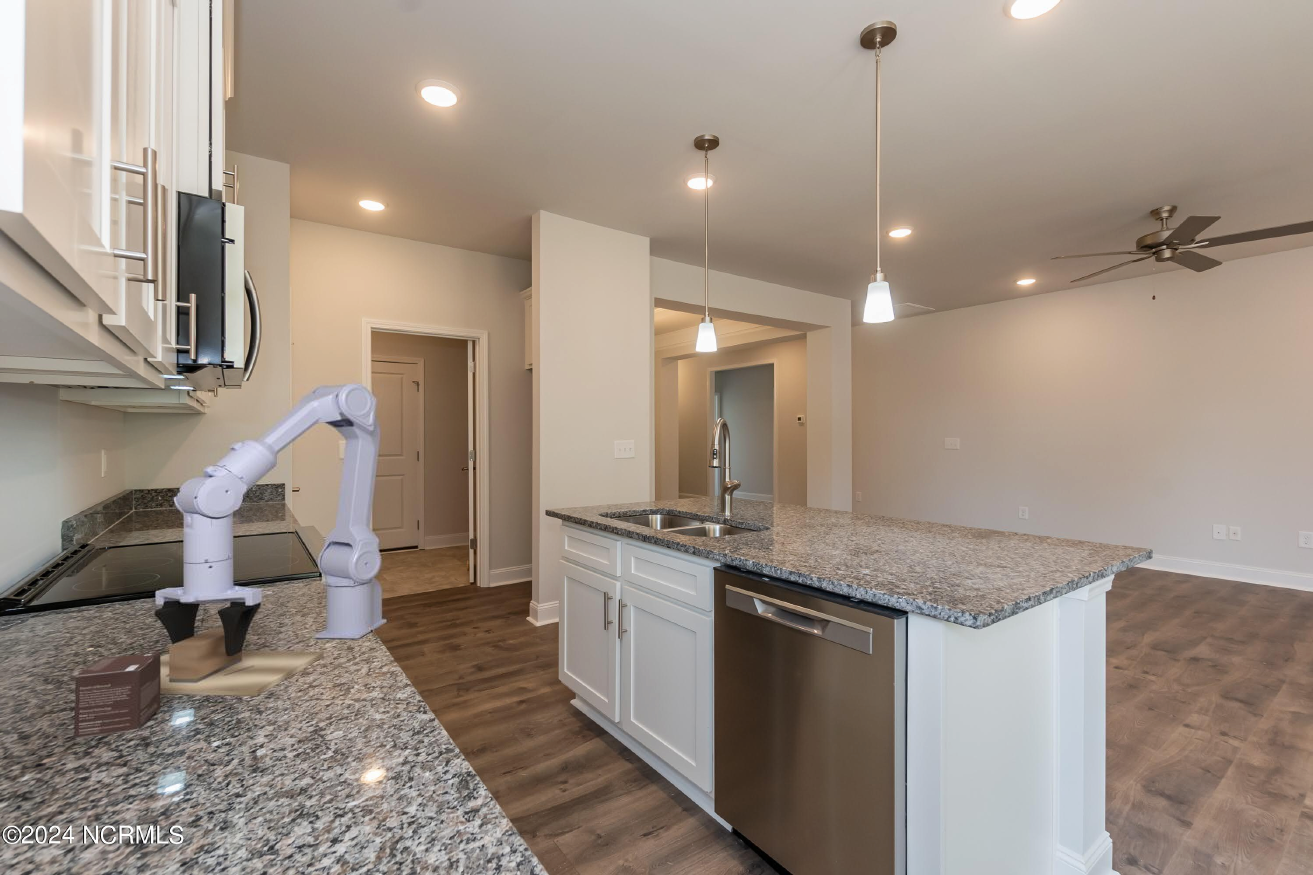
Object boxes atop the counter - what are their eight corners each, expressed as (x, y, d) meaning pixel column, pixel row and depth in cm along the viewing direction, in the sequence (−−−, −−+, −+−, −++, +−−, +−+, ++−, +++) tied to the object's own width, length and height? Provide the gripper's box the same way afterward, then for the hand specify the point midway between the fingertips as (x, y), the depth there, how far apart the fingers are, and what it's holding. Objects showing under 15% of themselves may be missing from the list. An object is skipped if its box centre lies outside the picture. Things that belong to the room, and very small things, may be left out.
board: (178, 654, 92) (178, 649, 92) (323, 656, 91) (323, 651, 91) (87, 692, 78) (87, 686, 78) (257, 695, 77) (257, 689, 77)
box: (101, 716, 71) (102, 657, 71) (162, 708, 73) (162, 651, 73) (72, 740, 66) (72, 675, 66) (138, 731, 68) (139, 668, 68)
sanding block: (216, 660, 87) (216, 627, 87) (241, 660, 87) (242, 627, 87) (169, 682, 79) (169, 645, 80) (196, 682, 79) (197, 646, 79)
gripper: (135, 565, 80) (135, 663, 80) (235, 565, 79) (235, 664, 79) (179, 555, 87) (180, 645, 87) (272, 555, 86) (272, 646, 86)
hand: (209, 653), depth 84 cm, fingers open, 7 cm apart
